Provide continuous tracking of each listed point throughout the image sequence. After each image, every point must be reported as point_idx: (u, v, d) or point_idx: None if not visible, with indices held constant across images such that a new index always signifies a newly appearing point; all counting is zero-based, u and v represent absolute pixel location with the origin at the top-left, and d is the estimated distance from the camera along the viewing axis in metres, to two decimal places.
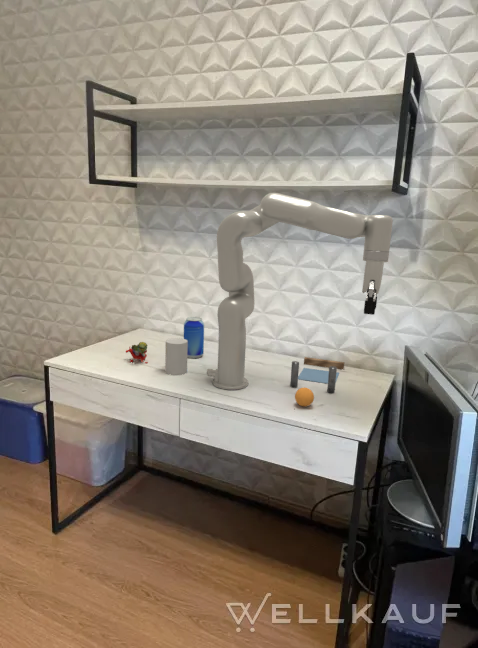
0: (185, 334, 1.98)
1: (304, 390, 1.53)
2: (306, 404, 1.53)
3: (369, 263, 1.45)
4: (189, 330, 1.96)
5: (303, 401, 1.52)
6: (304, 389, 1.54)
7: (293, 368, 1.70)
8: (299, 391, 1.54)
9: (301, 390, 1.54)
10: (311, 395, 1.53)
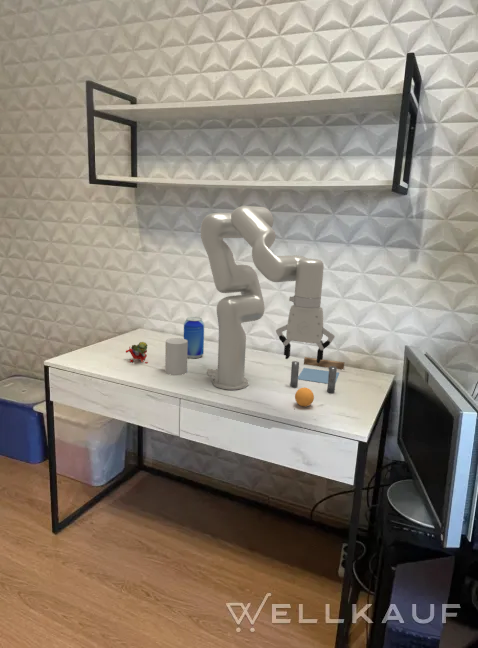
0: (185, 334, 1.98)
1: (304, 390, 1.53)
2: (306, 404, 1.53)
3: (321, 311, 1.37)
4: (189, 330, 1.96)
5: (303, 401, 1.52)
6: (304, 389, 1.54)
7: (293, 368, 1.70)
8: (299, 391, 1.54)
9: (301, 390, 1.54)
10: (311, 395, 1.53)
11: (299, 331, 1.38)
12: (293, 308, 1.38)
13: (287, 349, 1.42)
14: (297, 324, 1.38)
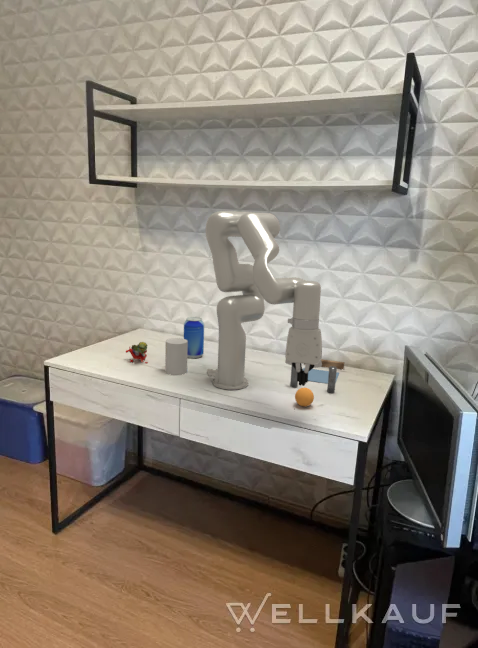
0: (185, 334, 1.98)
1: (304, 390, 1.53)
2: (306, 404, 1.53)
3: (319, 332, 1.38)
4: (189, 330, 1.96)
5: (303, 401, 1.52)
6: (304, 389, 1.54)
7: (293, 368, 1.70)
8: (299, 391, 1.54)
9: (301, 390, 1.54)
10: (311, 395, 1.53)
11: (298, 353, 1.39)
12: (291, 330, 1.39)
13: (300, 376, 1.42)
14: (296, 346, 1.39)
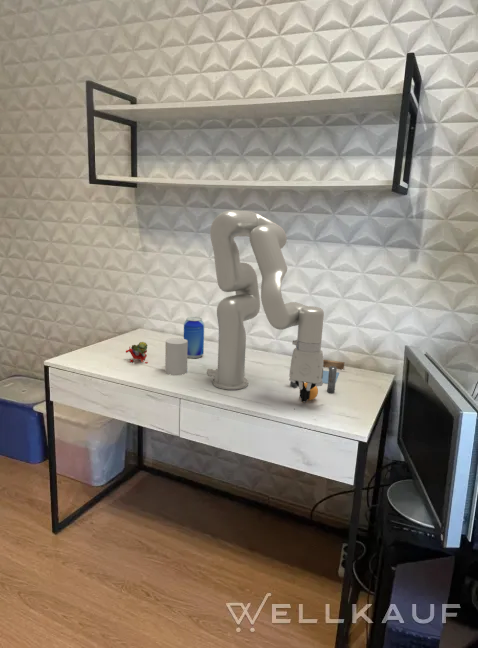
0: (185, 334, 1.98)
1: None
2: None
3: (321, 355, 1.50)
4: (189, 330, 1.96)
5: None
6: None
7: None
8: None
9: None
10: None
11: (301, 372, 1.52)
12: (295, 351, 1.51)
13: (302, 393, 1.54)
14: (299, 366, 1.52)
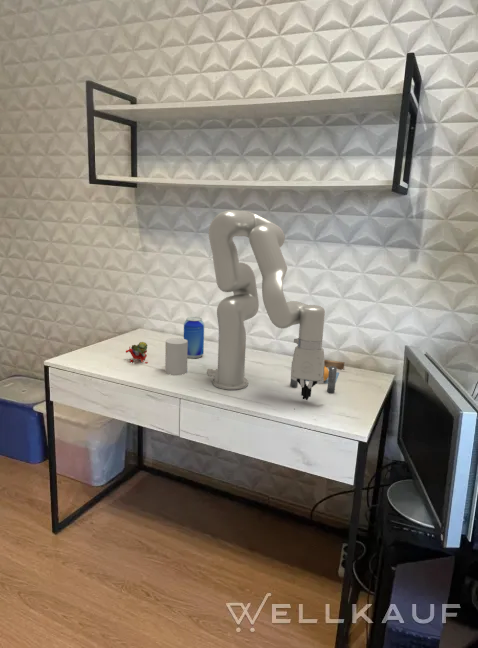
0: (185, 334, 1.98)
1: None
2: (324, 367, 1.77)
3: (322, 352, 1.52)
4: (189, 330, 1.96)
5: None
6: None
7: None
8: None
9: None
10: None
11: (302, 370, 1.54)
12: (297, 349, 1.53)
13: (304, 390, 1.56)
14: (301, 364, 1.53)
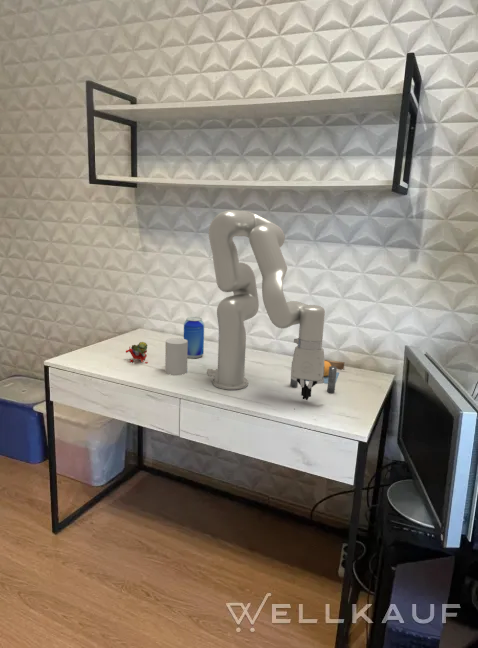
0: (185, 334, 1.98)
1: (323, 376, 1.84)
2: None
3: (322, 352, 1.52)
4: (189, 330, 1.96)
5: None
6: None
7: None
8: None
9: None
10: None
11: (302, 370, 1.54)
12: (297, 349, 1.53)
13: (304, 390, 1.56)
14: (301, 364, 1.53)
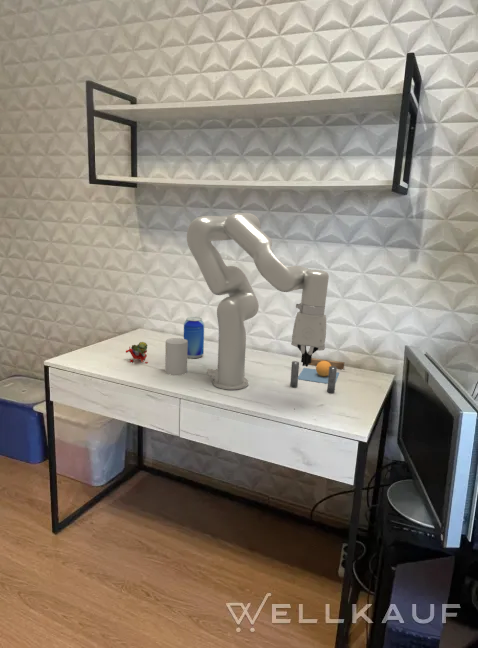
0: (185, 334, 1.98)
1: (323, 376, 1.84)
2: None
3: (325, 318, 1.49)
4: (189, 330, 1.96)
5: None
6: None
7: (293, 368, 1.70)
8: None
9: (320, 375, 1.84)
10: None
11: (304, 336, 1.51)
12: (299, 314, 1.51)
13: (304, 357, 1.54)
14: (302, 329, 1.51)
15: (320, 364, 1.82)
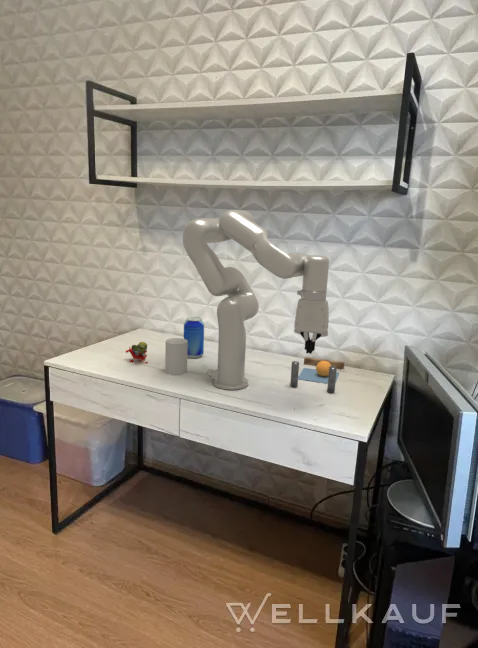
0: (185, 334, 1.98)
1: (323, 376, 1.84)
2: None
3: (327, 303, 1.48)
4: (189, 330, 1.96)
5: None
6: None
7: (293, 368, 1.70)
8: None
9: (320, 375, 1.84)
10: None
11: (306, 322, 1.50)
12: (301, 301, 1.50)
13: (308, 344, 1.53)
14: (304, 316, 1.50)
15: (320, 364, 1.82)
